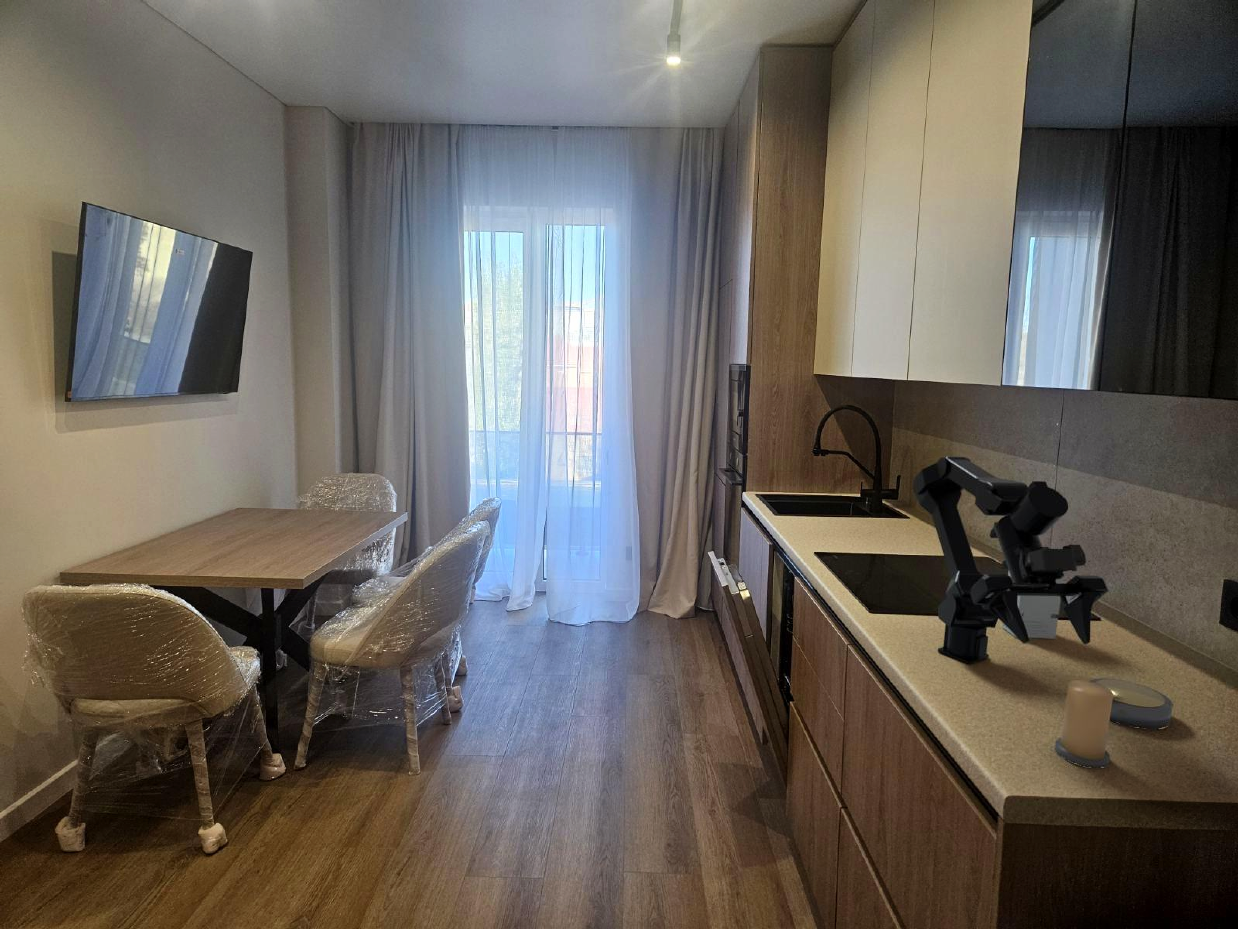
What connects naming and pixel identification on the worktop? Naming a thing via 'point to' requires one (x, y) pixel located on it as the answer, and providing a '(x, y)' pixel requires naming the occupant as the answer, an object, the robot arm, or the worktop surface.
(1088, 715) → the tan rounded stopper
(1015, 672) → the worktop surface
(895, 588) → the worktop surface
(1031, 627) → the skincare box
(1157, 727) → the grey round disc
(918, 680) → the worktop surface
